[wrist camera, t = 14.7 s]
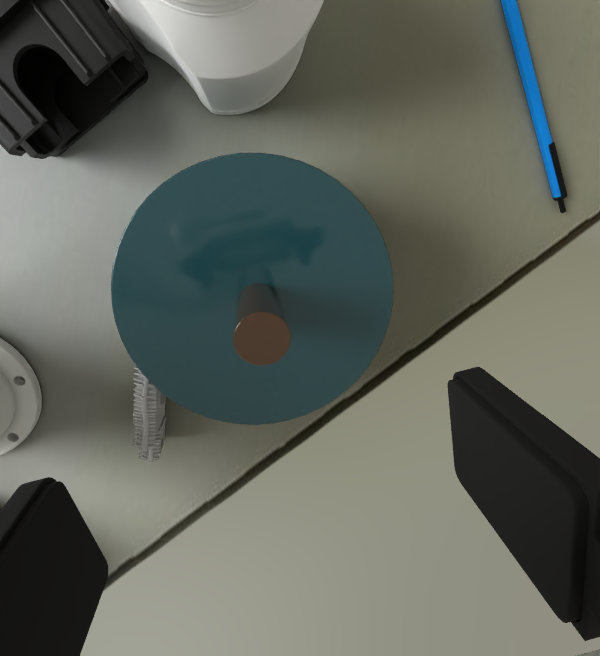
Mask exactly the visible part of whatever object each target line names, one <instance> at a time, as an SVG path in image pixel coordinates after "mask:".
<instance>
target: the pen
mask: <svg viewBox="0 0 600 656" xmlns="http://www.w3.org/2000/svg"><path fill="white" fill-rule="evenodd" d="M501 4H502V8H503V12H504V15H505V19H506V23H507V27H508V30H509V34H510V38H511V42H512V45H513V49H514V53H515V57H516V60H517V64H518V68H519V72H520V75H521V79H522V83H523V87H524V91H525V94H526V98H527V102H528V106H529V109H530V113H531V117H532V121H533V124H534V128H535V132H536V136H537V139H538V143H539V147H540V151H541V154H542V158H543V162H544V166H545V169H546V173H547V177H548V181H549V184H550V188H551V192H552V196H553V199H554V200H555V201H556V200H558V204H559V208H560V211H561V213H564V212H566V209H565V205H564V201H563V199H564V198H566V197H567V192H566V188H565V184H564V180H563V176H562V172H561V168H560V164H559V160H558V156H557V151H556V147H555V143H554V142H552V138H551V134H550V130H549V126H548V122H547V119H546V115H545V111H544V107H543V103H542V99H541V95H540V91H539V87H538V83H537V79H536V75H535V71H534V67H533V63H532V59H531V55H530V51H529V47H528V43H527V40H526V36H525V32H524V28H523V24H522V20H521V16H520V12H519V8H518V4H517V0H501Z"/></svg>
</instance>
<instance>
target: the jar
mask: <svg viewBox="0 0 600 656" xmlns="http://www.w3.org/2000/svg"><path fill="white" fill-rule="evenodd" d="M109 2H110V3H111V4H112V6H113V7H114V8H115V10H116V11H117V12H118V14H119V15H120V16H121V18H122V19H123V21H124V22H125V23H126V25H127V26H128V27H129V30H130V32H131V34H132V35H133V36H134V38H135V39H136V40H137V41H138V42H139V43H140V44H141V45H142V46H143V47H144V48H145V49H146V50H148V51H149V52H151V53H153V54H155V55H157V56H158V57H160V58H161V59H163V60H164V61H166V62H167V63H168V64H169V65H171V66H172V67H173V68H174V69H175V70H176V71H178V72H179V73H180V74H181V75H182V76H183V78H184V79H185V80H186V81H187V82H188V83H189V85H190V86H191V87H192V88H193V90H194V91H195V93H196V94H197V96H198V97H199V99H200V101H201V103H202V104H203V105H204V106H205V107H206V108H207V109H208V110H209V111H210V112H212V113H213V114H217V115H237V114H242V113H246V112H250V111H253V110H255V109H257V108H259V107H261V106H263V105H265V104H266V103H268V102H269V101H270V100H272V99H273V98H274V97H275V96H276V95H277V94H278V93H279V92H280V91H281V90H282V89H283V88H284V87H285V86H286V84H287V83H288V81H289V80H290V78H291V77H292V75H293V73H294V71H295V69H296V67H297V65H298V62H299V60H300V57H301V55H302V52H303V48H304V45H305V41H306V38H307V36H308V33H309V31H310V29H311V27H312V25H313V24H314V22H315V20H316V18H317V16H318V13H319V11H320V9H321V6H322V4H323V2H324V0H109Z"/></svg>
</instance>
